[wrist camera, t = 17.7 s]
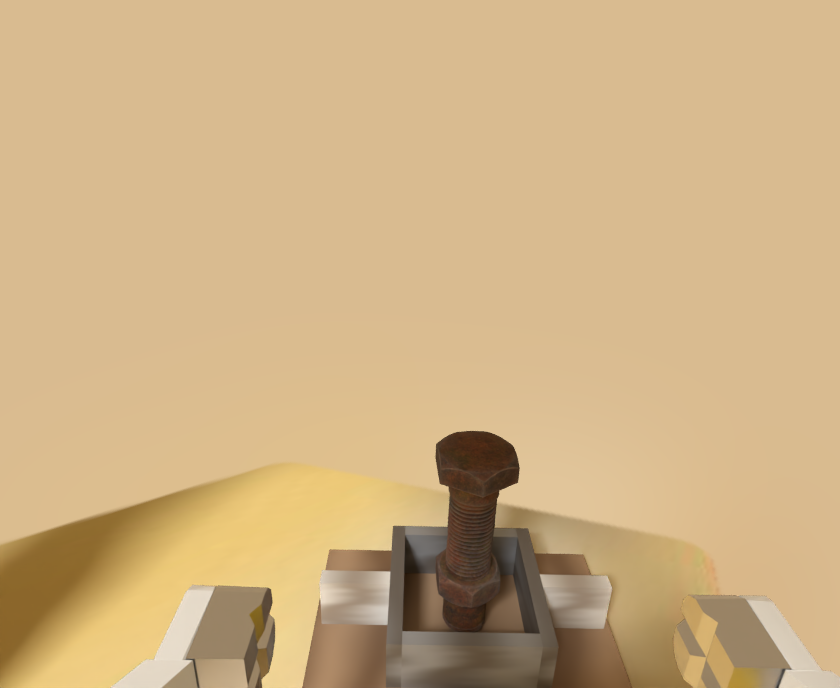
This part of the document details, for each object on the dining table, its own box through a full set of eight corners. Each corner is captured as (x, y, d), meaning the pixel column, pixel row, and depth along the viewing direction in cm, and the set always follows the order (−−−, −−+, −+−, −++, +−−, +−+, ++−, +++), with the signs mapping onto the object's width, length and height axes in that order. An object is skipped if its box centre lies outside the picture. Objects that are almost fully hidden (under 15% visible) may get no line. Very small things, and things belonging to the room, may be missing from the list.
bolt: (452, 664, 39) (466, 484, 34) (412, 613, 43) (418, 444, 37) (514, 626, 42) (536, 455, 37) (472, 582, 46) (486, 421, 41)
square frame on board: (299, 724, 37) (294, 664, 35) (330, 562, 50) (327, 512, 48) (637, 729, 37) (653, 670, 35) (580, 567, 50) (589, 517, 48)
